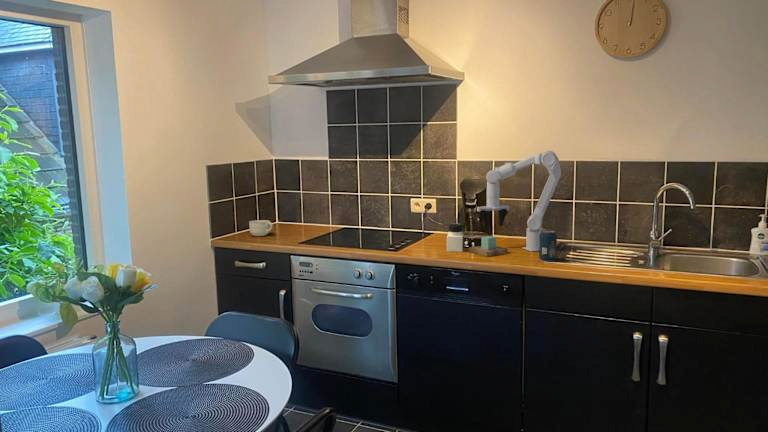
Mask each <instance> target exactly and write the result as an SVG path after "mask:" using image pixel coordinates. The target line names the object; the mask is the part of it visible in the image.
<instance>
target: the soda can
mask: <svg viewBox="0 0 768 432" xmlns="http://www.w3.org/2000/svg"><path fill="white" fill-rule="evenodd" d="M557 245H558V235H557V233H556V230H553V229H552V230H551V229H546V230H542V231H541V233H540V235H539V251H538V257H539V259H540V261H543V262H554V261H556V259H557V255H558V254H557V253H558V252H557V247H558V246H557Z"/></svg>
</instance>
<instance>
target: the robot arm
mask: <svg viewBox="0 0 768 432" xmlns="http://www.w3.org/2000/svg"><path fill="white" fill-rule="evenodd" d="M534 164H535V165H541V164H542V165H543V166H544V167H545V168H546V170H547V172H548V174H549V176H548V179H547V181H546V182H545V185H544V187H543V189H542V192H541V195H539V196H540V197H539V199H538V201H537V204H536V205H535V208H534V211H533V212H532V213H531V215H529V217H528V219H527V221H526V225H527V227H526V235H525V236H526V237H525V241H526V244H525V245H526V246H523V247H522V249H524V250H526V251H529V252H539V235H540V233H541V231H542V230H547V229H546V228H543V226H542V225H543V217H544V215H545V213H546V210H547V208H548V206H549V205H550V202H551V199H552V197H553V194H554V192H555V190H556V187H557V186H558V183H559V181H560V178H561V176H562V170H561V165H560V160H559V157H558V156H557V154H556V153H555V152H554V151H552V150H546V151H544V152H539V153H535V154H533V155H530V156H529V157H526V158H524V159H522V160H519V161H518V162H515V163H513V162H504V164H503V165H500V166H496V167H494V169H490V170H489V171H488V172H487V173H486V176H485V178H486V179H485V180H486V205H483V206H477V207H476V211H477V212H478V214H479V216H480V218H481V221H482V226H483V227H484V228H487V224H488V221H487V220H488V214H489V213H488V212H491V211H492V212H494V211H497V212H498V225H499V227H503V225H504V222H505V218H506V217H507V215H508V213H509V212H508V211H509V210H510V207H509V205H504V204H503V205H501V204H500V199H501V198H500V194H501V193H500V191H501V189H500V188H501V187H500V180H505V179H507V178H509V177H512V176H514V175H516V174H517V171H518V170H521V169H523V168H526V167H529V166H531V165H534Z"/></svg>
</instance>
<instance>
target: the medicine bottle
mask: <svg viewBox="0 0 768 432" xmlns="http://www.w3.org/2000/svg"><path fill="white" fill-rule="evenodd" d="M464 249H465V234H464V233H463V225H462V224H461V223H450V224H449V225H448V233H447V236H446V252H447V253H448V252H449V253H463V252H464Z"/></svg>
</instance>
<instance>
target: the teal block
mask: <svg viewBox="0 0 768 432" xmlns="http://www.w3.org/2000/svg"><path fill="white" fill-rule="evenodd" d="M480 243H481V245H480V246H481V248H483V249H487V250H490V249H496V246H497V237H496V236H492V235H486V236H481V241H480Z"/></svg>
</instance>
